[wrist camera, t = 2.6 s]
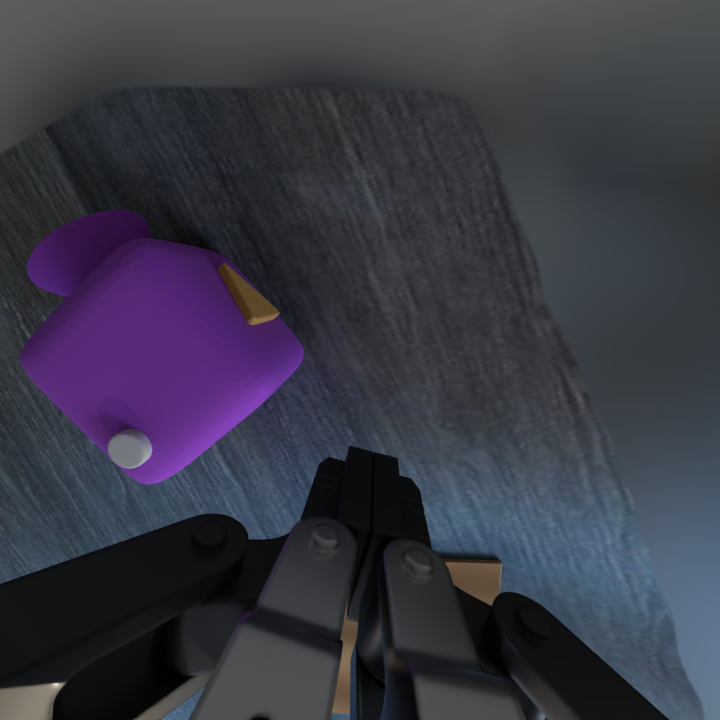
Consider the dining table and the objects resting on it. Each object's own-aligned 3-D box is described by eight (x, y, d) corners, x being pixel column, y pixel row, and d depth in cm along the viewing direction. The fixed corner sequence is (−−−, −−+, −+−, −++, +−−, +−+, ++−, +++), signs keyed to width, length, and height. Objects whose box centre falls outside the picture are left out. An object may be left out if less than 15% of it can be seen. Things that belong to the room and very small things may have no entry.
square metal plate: (298, 553, 28) (297, 557, 27) (500, 559, 27) (502, 563, 27) (306, 706, 31) (305, 711, 31) (487, 716, 30) (488, 721, 30)
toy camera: (168, 196, 23) (9, 127, 13) (330, 329, 24) (297, 358, 14) (88, 323, 25) (-101, 346, 15) (241, 438, 26) (159, 530, 16)
